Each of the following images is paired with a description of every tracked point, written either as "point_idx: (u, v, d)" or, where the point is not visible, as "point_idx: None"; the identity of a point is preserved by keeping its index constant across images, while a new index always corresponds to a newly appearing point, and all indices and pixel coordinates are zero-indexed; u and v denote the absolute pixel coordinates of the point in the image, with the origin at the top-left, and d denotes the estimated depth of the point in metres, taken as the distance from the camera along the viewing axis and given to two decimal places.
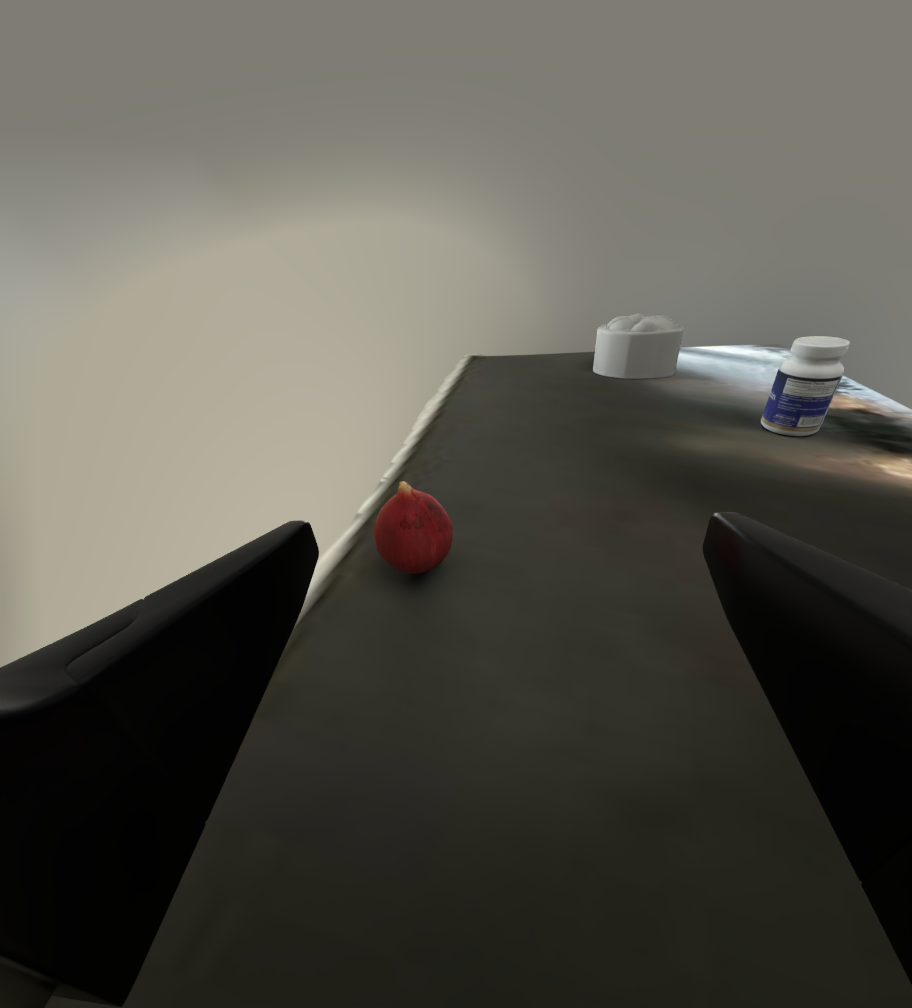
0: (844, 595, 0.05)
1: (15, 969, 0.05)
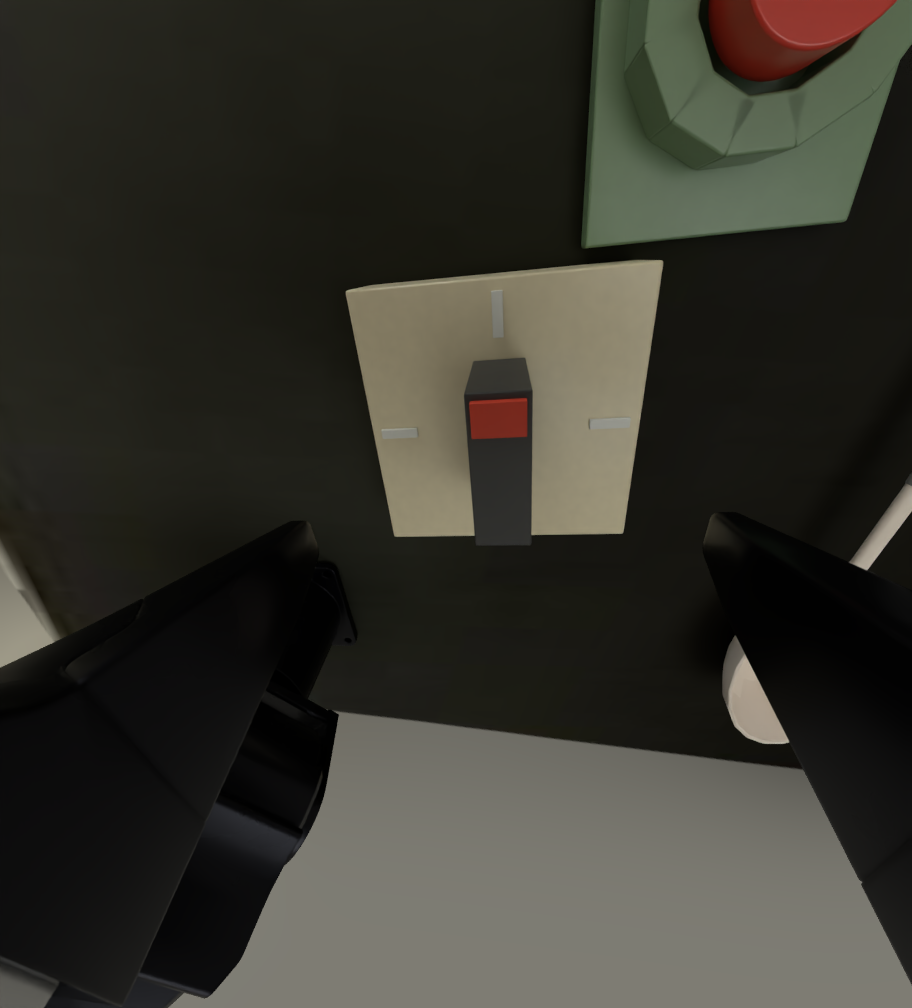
0: (843, 595, 0.05)
1: (15, 969, 0.05)
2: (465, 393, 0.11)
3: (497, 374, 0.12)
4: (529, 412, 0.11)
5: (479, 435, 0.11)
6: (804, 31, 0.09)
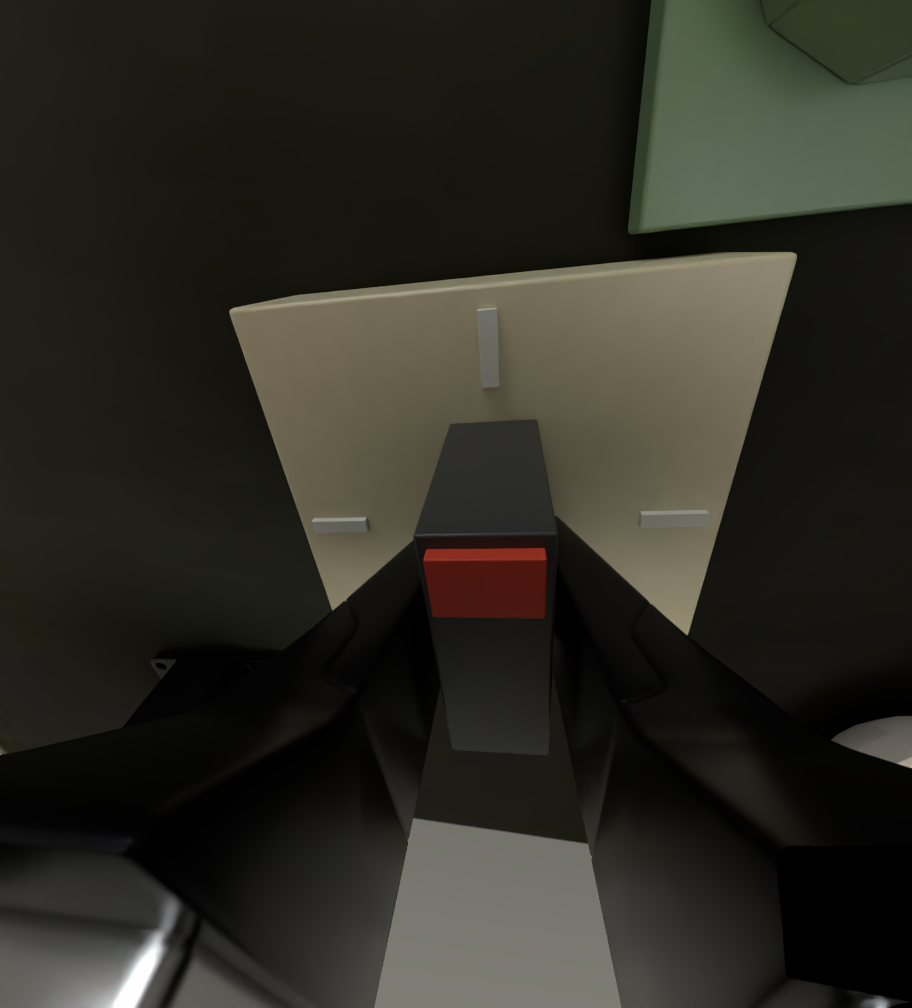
0: (574, 593, 0.06)
1: None
2: (416, 534, 0.05)
3: (487, 467, 0.07)
4: (550, 572, 0.05)
5: (447, 613, 0.05)
6: None
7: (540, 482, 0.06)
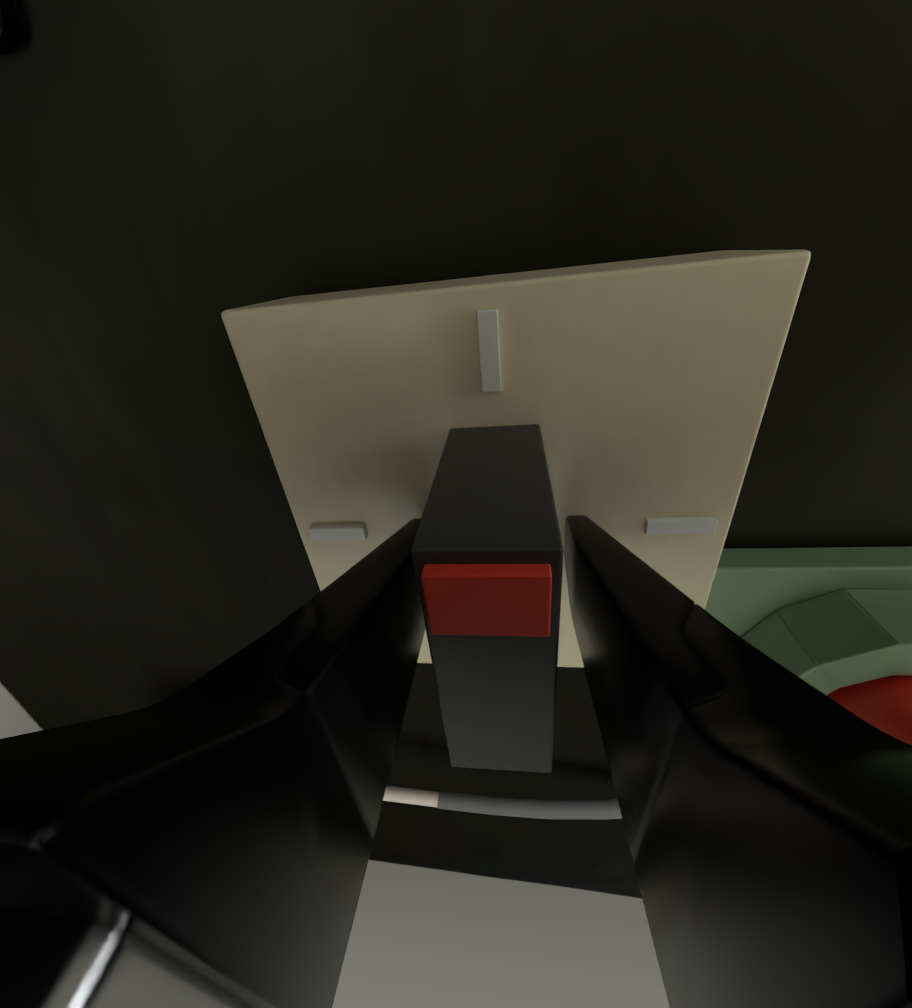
0: (616, 594, 0.06)
1: (247, 1006, 0.04)
2: (414, 548, 0.05)
3: (488, 475, 0.06)
4: (555, 588, 0.05)
5: (447, 630, 0.05)
6: None
7: (544, 492, 0.06)
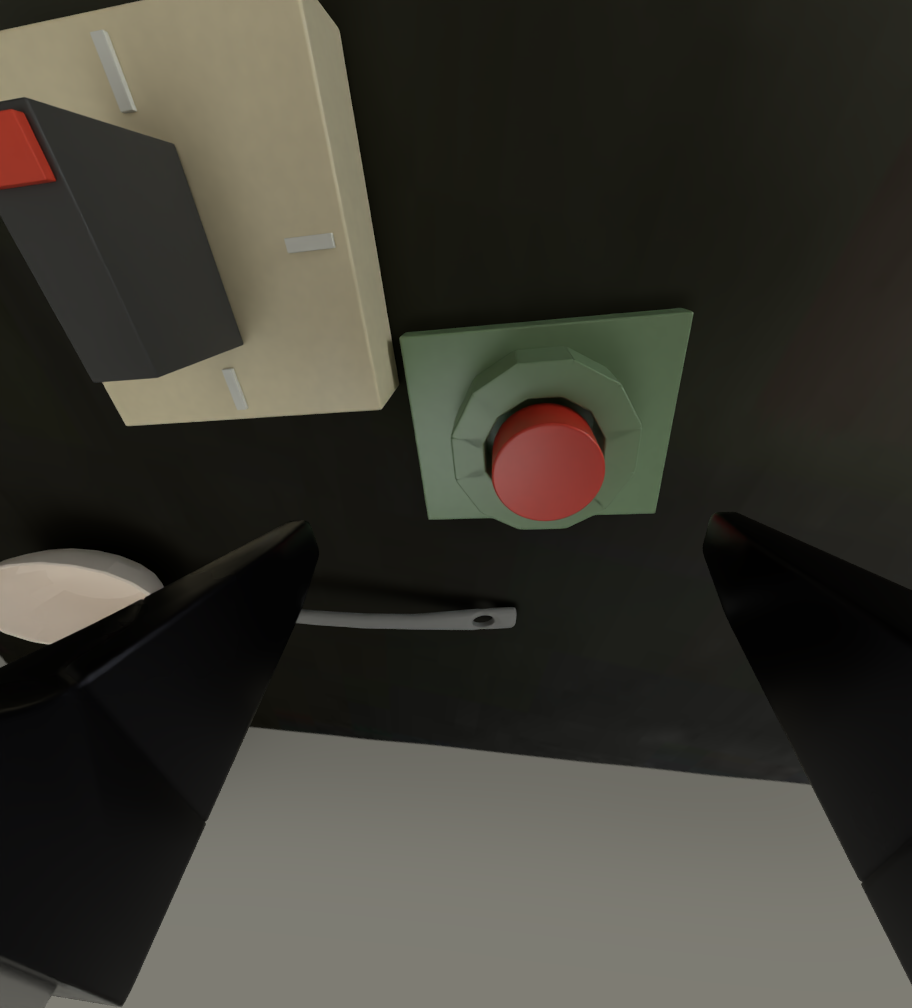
0: (844, 595, 0.05)
1: (15, 969, 0.05)
2: None
3: None
4: (41, 140, 0.08)
5: None
6: (500, 467, 0.13)
7: (81, 116, 0.08)
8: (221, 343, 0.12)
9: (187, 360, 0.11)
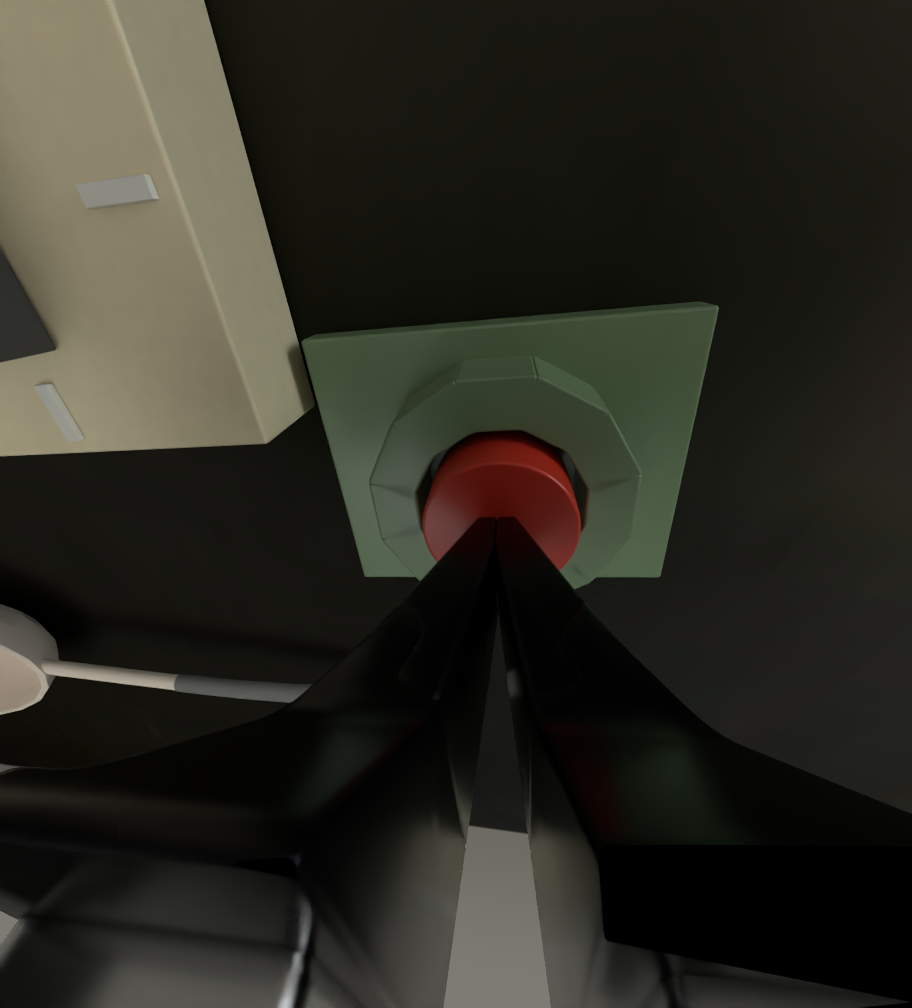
0: (513, 593, 0.06)
1: None
2: None
3: None
4: None
5: None
6: (433, 520, 0.09)
7: None
8: None
9: None
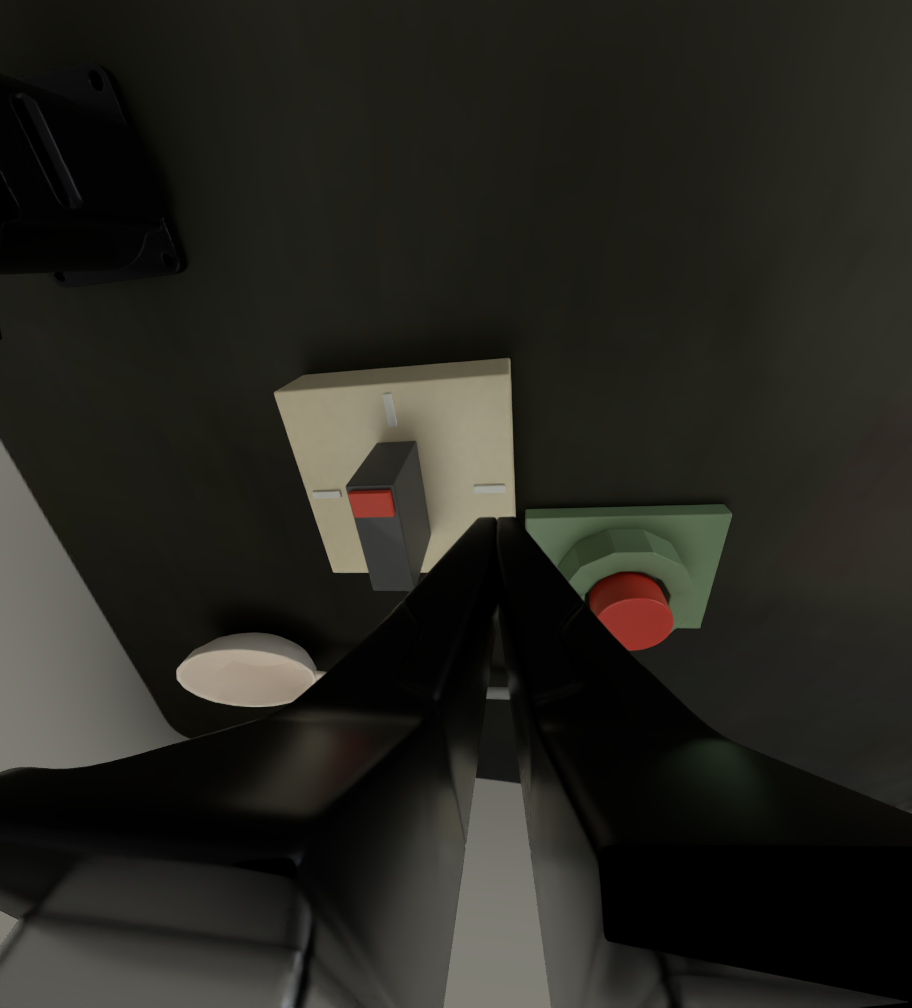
0: (513, 593, 0.06)
1: None
2: (346, 485, 0.15)
3: (382, 462, 0.16)
4: (394, 499, 0.15)
5: (359, 515, 0.15)
6: (602, 619, 0.20)
7: (398, 468, 0.15)
8: (426, 544, 0.19)
9: (420, 569, 0.18)
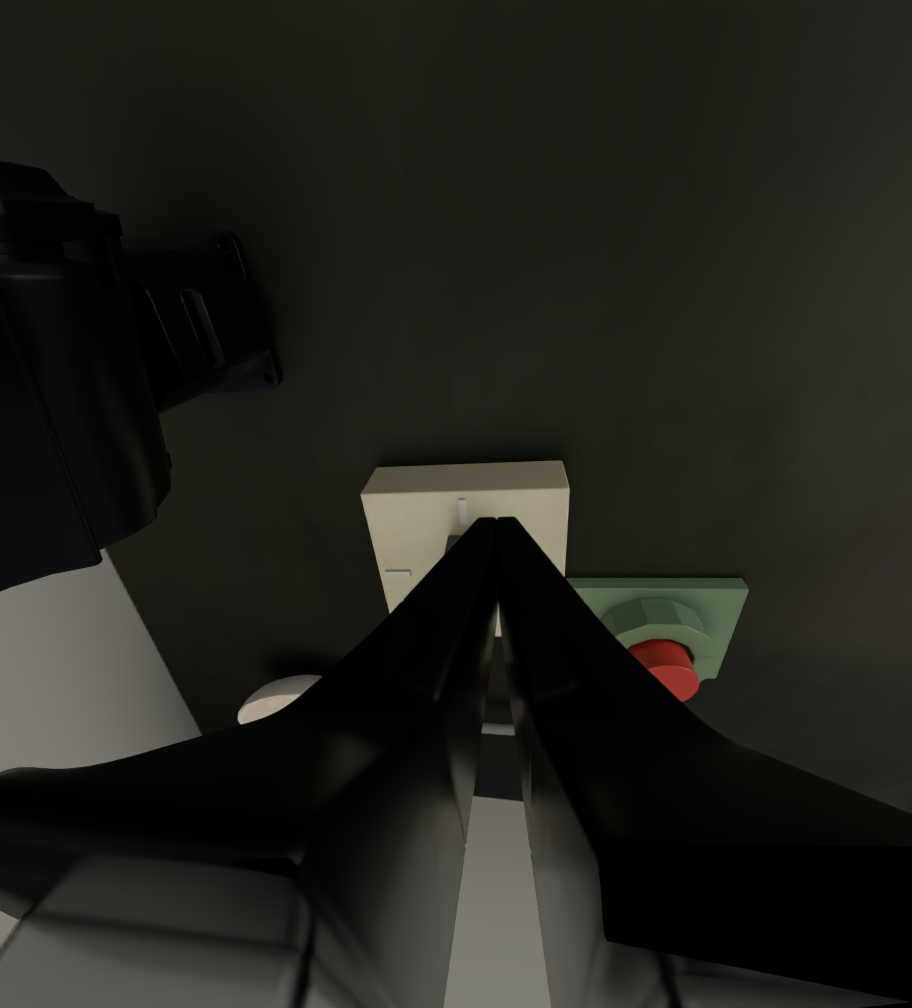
0: (513, 593, 0.06)
1: None
2: None
3: None
4: None
5: None
6: None
7: None
8: None
9: None
